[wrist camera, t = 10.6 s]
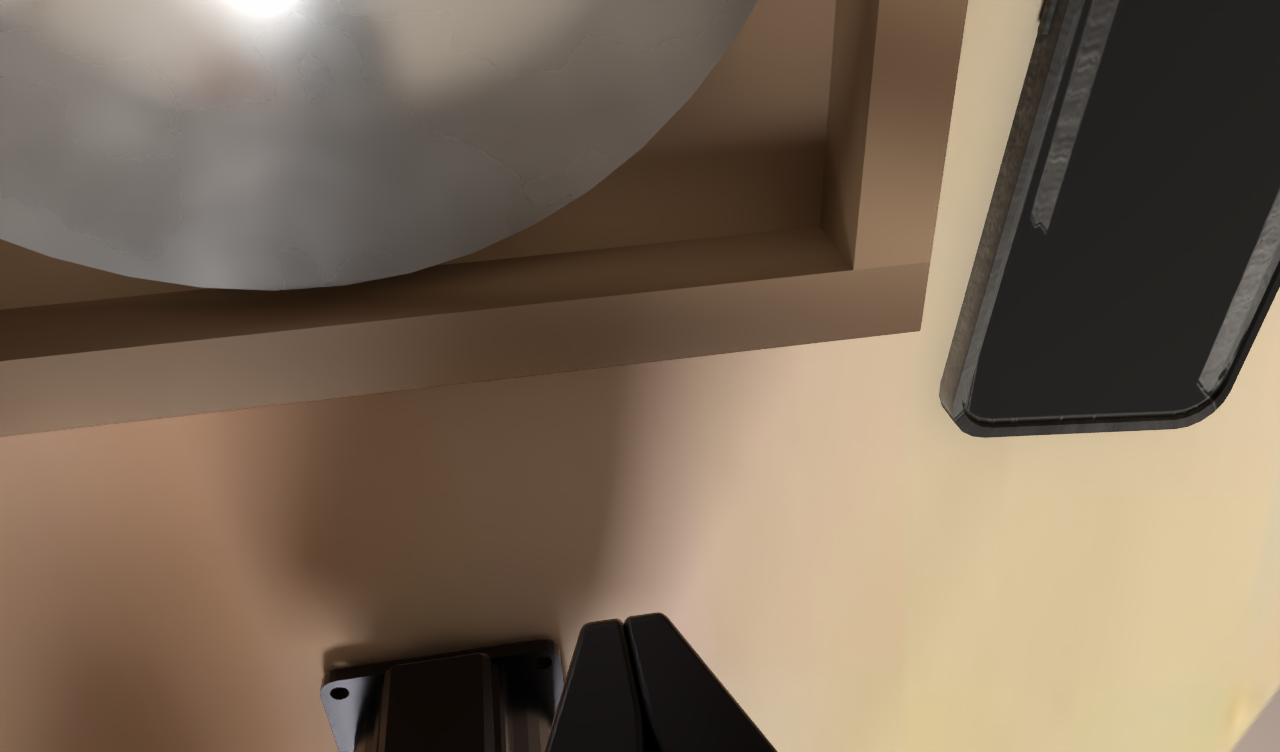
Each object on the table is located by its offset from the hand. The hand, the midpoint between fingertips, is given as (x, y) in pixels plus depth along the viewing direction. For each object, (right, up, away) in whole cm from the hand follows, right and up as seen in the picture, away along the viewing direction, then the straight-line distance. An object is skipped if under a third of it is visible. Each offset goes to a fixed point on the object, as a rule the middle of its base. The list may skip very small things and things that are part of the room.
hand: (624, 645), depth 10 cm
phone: (+12, +8, +12) cm, 19 cm away
